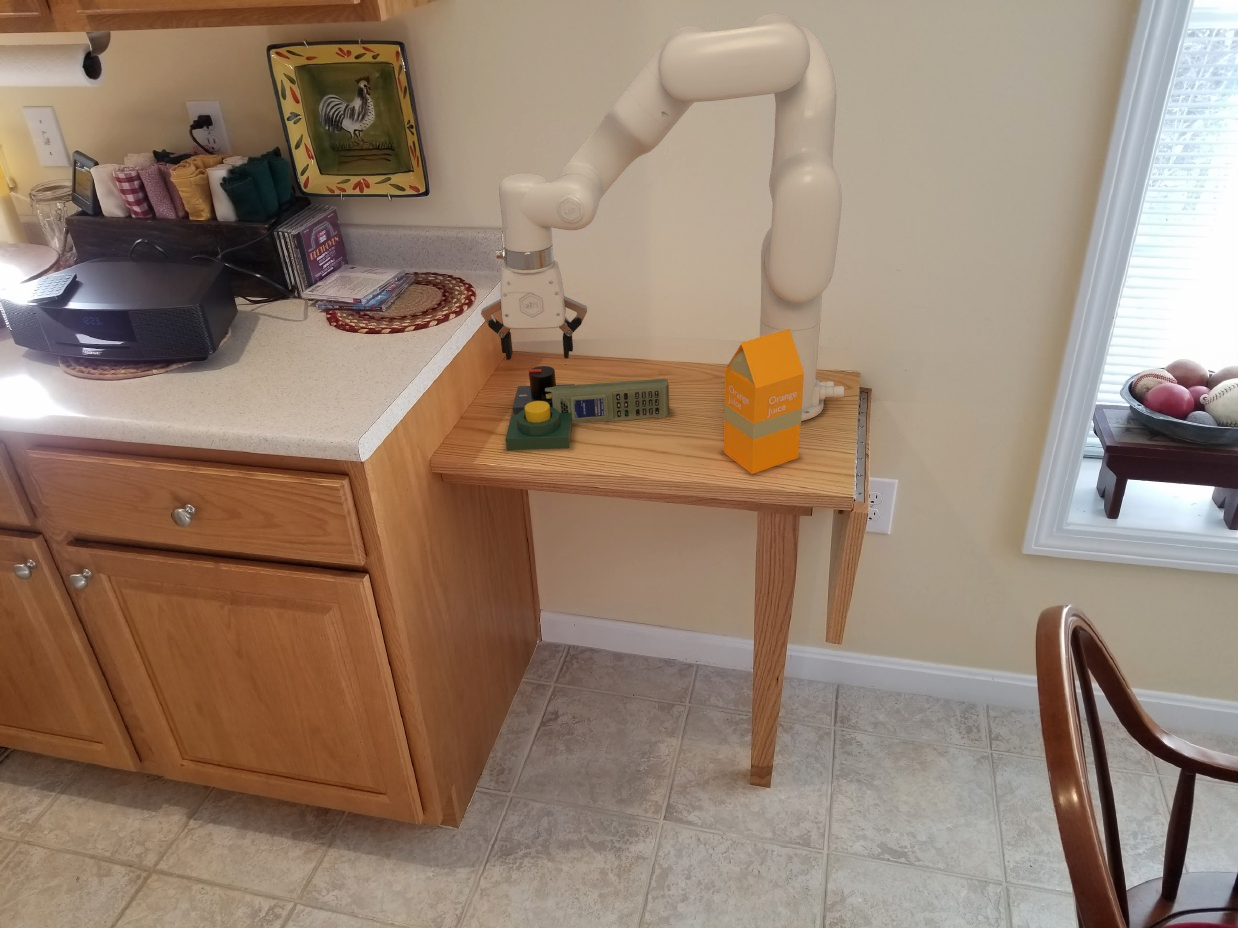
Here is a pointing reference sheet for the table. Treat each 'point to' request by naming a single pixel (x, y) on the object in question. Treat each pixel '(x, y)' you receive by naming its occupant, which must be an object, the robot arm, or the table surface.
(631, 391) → the handheld radio
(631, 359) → the table surface
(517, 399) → the nozzle panel
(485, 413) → the table surface
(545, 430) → the green button base
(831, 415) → the table surface
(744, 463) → the orange juice
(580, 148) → the robot arm
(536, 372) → the knob
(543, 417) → the yellow push button
